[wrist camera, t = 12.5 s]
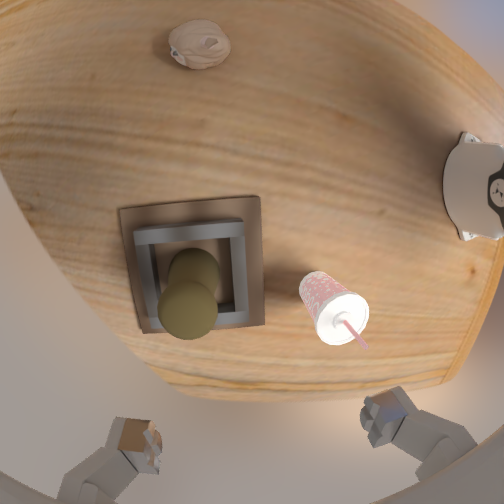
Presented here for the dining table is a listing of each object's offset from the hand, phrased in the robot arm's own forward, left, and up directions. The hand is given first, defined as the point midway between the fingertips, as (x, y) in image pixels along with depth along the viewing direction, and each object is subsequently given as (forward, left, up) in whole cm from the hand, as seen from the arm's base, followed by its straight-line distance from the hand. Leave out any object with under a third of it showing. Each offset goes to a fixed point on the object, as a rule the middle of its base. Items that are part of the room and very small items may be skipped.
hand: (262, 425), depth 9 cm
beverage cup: (-11, +6, -25) cm, 28 cm away
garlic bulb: (+2, -24, -25) cm, 35 cm away
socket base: (+4, +2, -25) cm, 25 cm away
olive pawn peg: (+4, +2, -24) cm, 24 cm away
